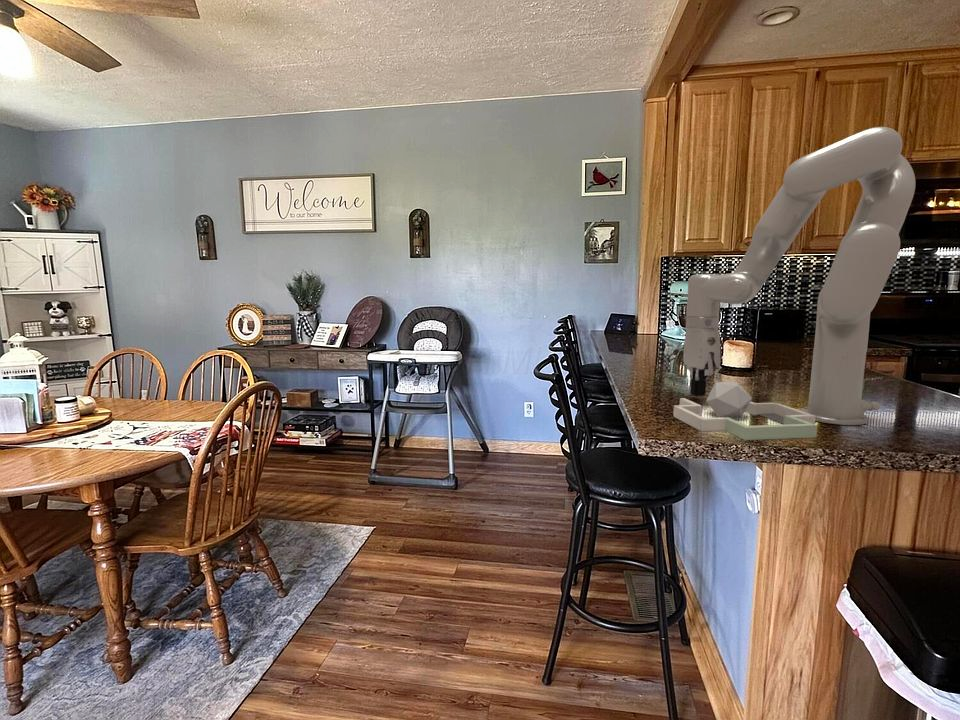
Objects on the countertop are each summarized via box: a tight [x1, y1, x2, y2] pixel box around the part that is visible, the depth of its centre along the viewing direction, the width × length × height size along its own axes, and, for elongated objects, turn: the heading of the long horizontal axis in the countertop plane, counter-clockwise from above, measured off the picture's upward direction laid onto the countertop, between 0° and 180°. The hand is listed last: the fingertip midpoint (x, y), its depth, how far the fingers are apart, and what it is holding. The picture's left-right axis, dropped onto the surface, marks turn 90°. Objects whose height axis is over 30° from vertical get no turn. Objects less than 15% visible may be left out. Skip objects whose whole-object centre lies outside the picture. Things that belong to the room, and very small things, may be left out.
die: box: [705, 381, 753, 418], centre depth 114 cm, size 8×9×10 cm
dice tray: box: [673, 397, 818, 441], centre depth 110 cm, size 25×26×2 cm
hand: (697, 394), depth 127 cm, fingers closed
